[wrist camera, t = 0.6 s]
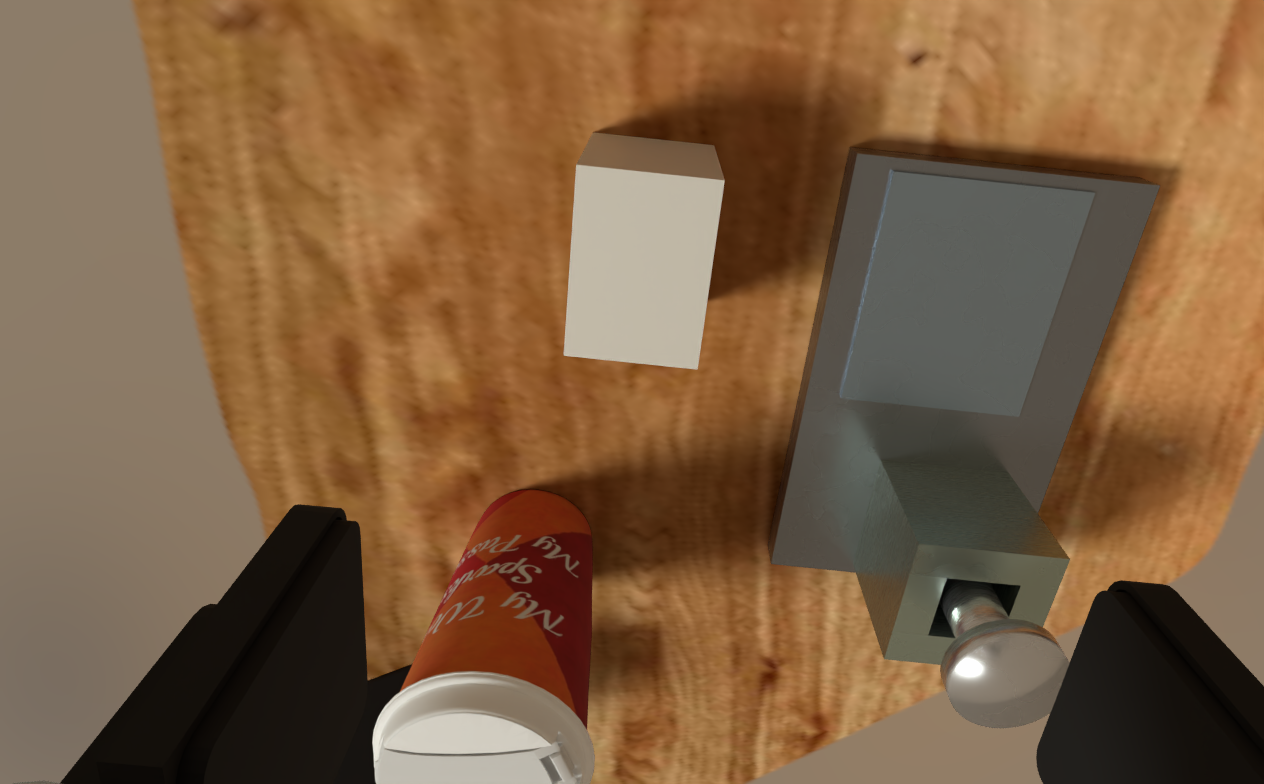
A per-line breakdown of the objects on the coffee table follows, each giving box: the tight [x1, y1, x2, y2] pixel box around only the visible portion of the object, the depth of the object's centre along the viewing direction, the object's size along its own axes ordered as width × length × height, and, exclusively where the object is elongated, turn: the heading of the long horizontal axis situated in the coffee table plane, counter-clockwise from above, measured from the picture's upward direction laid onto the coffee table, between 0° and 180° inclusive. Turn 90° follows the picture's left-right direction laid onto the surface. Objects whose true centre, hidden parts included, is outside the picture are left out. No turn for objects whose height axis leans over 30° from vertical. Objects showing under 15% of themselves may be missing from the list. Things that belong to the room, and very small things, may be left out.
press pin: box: [939, 578, 1070, 728], centre depth 33 cm, size 4×4×6 cm
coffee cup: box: [372, 490, 595, 784], centre depth 36 cm, size 8×8×15 cm
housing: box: [564, 132, 725, 369], centre depth 33 cm, size 7×5×7 cm
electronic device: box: [333, 665, 412, 784], centre depth 43 cm, size 4×10×10 cm, turn 117°
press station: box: [768, 147, 1160, 665], centre depth 35 cm, size 20×12×8 cm, turn 174°
